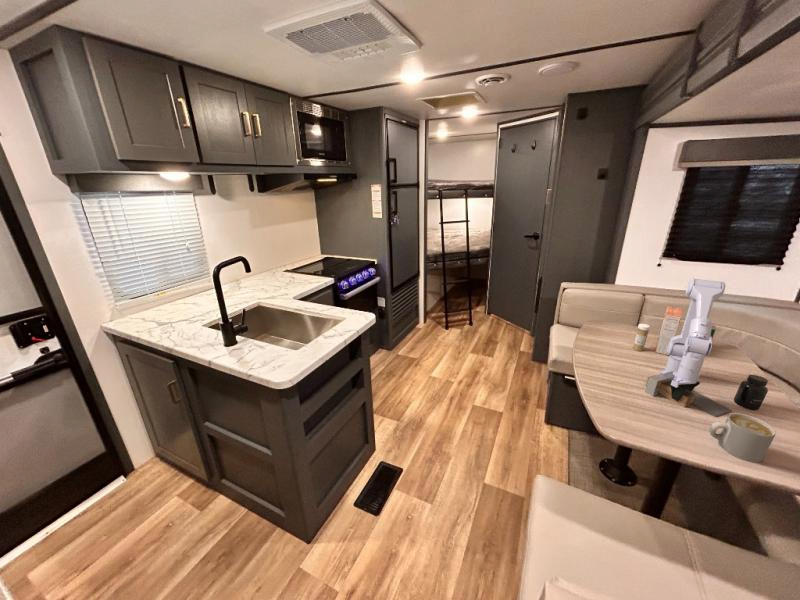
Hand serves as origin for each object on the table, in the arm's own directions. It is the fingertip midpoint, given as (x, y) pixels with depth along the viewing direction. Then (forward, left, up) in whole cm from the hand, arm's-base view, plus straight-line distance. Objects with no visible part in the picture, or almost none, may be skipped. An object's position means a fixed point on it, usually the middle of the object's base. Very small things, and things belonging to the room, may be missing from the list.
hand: (679, 397), depth 120 cm
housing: (0, -7, -1) cm, 7 cm away
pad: (-7, +3, -1) cm, 8 cm away
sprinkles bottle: (-25, -34, -2) cm, 42 cm away
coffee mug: (+9, +21, -2) cm, 23 cm away
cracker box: (-37, -30, -2) cm, 48 cm away
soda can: (-58, -25, -2) cm, 63 cm away
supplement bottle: (-21, +10, -2) cm, 23 cm away
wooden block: (0, -4, -2) cm, 4 cm away
